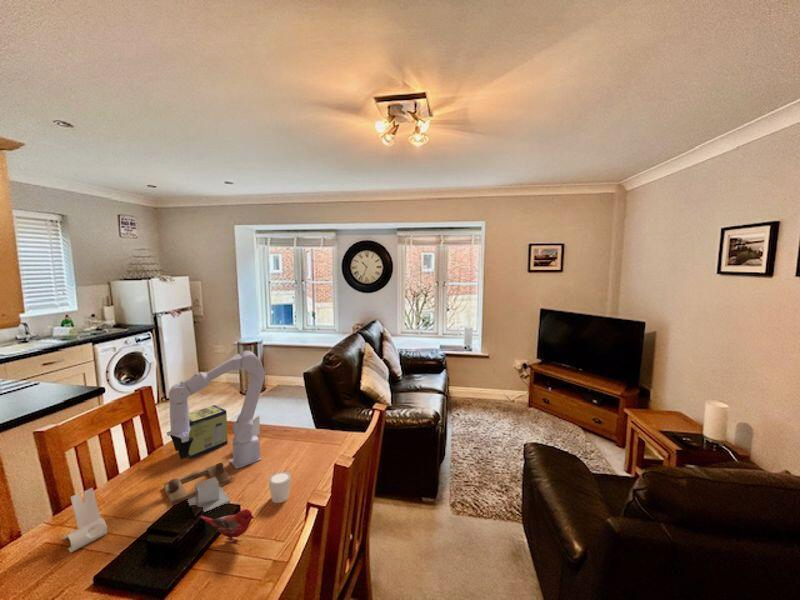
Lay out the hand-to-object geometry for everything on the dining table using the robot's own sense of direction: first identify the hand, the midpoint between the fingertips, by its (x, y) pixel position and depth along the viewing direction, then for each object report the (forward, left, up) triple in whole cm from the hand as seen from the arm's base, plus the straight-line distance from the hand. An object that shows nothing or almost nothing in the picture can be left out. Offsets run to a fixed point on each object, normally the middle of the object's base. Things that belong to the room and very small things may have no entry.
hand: (181, 453), depth 122 cm
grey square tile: (-3, +21, -9) cm, 23 cm away
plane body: (-3, +8, -9) cm, 13 cm away
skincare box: (-28, -8, -10) cm, 31 cm away
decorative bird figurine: (-2, +42, -10) cm, 43 cm away
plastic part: (+27, +12, -10) cm, 31 cm away
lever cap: (-3, +21, -9) cm, 23 cm away
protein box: (-12, -19, -10) cm, 24 cm away
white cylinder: (-21, +35, -10) cm, 42 cm away
